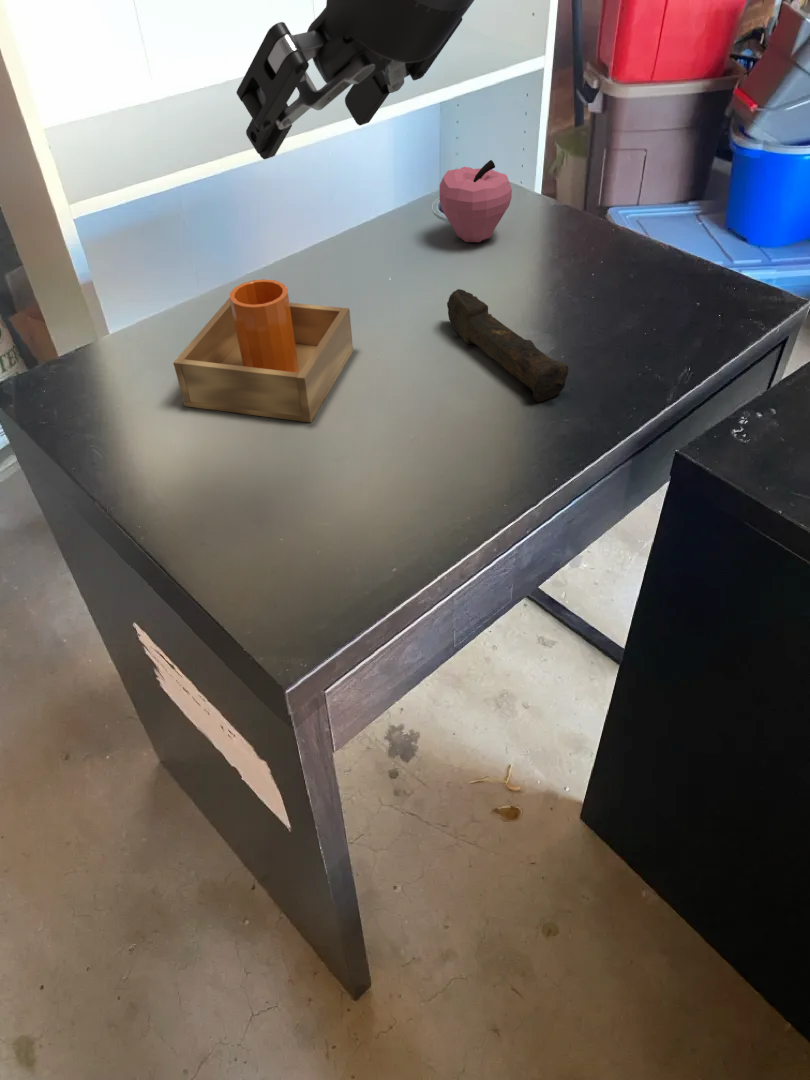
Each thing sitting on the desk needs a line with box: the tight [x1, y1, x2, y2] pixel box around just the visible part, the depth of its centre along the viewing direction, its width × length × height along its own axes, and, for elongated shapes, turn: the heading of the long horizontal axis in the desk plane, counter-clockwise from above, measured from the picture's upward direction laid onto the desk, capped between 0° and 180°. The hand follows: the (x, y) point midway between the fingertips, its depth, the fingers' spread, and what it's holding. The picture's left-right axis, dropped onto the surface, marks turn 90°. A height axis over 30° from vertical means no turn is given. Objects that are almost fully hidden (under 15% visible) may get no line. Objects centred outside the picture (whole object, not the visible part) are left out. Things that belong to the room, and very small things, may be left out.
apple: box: [439, 159, 513, 243], centre depth 106 cm, size 10×9×10 cm
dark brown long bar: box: [446, 288, 569, 403], centre depth 86 cm, size 19×4×5 cm, turn 28°
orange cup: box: [229, 278, 299, 373], centre depth 83 cm, size 6×6×9 cm
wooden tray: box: [172, 297, 354, 423], centre depth 85 cm, size 14×14×5 cm
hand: (308, 129), depth 57 cm, fingers open, 8 cm apart
